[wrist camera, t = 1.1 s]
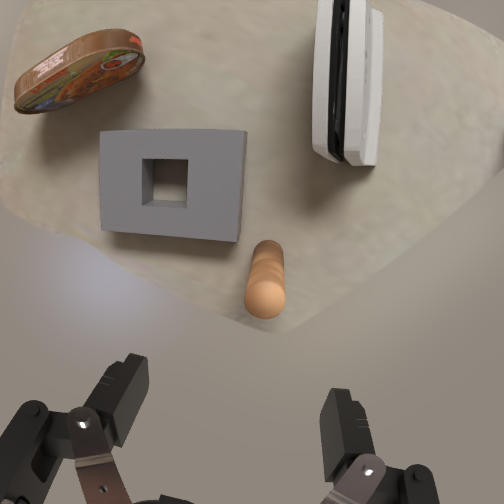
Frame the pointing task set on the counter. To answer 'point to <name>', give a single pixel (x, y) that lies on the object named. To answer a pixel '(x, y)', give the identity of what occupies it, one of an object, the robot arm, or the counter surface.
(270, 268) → the peg
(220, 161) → the hole block
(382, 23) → the hinge
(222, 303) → the counter surface
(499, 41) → the counter surface
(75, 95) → the tin
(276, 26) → the counter surface
